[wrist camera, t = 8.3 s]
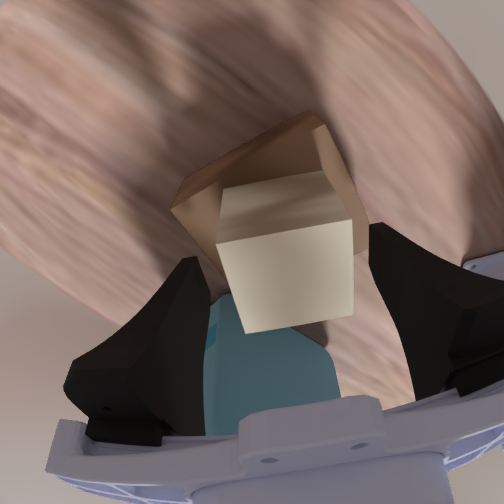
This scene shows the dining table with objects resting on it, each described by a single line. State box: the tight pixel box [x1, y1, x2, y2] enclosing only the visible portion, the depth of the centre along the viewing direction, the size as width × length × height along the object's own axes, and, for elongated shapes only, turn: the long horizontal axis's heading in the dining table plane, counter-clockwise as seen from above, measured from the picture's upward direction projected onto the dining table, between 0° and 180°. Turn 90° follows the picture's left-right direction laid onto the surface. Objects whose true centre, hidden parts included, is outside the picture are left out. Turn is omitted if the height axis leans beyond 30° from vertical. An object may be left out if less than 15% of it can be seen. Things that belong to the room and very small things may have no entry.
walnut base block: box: [170, 110, 370, 281], centre depth 17 cm, size 8×7×4 cm
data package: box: [203, 294, 341, 436], centre depth 20 cm, size 12×4×12 cm, turn 49°
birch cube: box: [216, 170, 354, 334], centre depth 13 cm, size 4×4×4 cm
